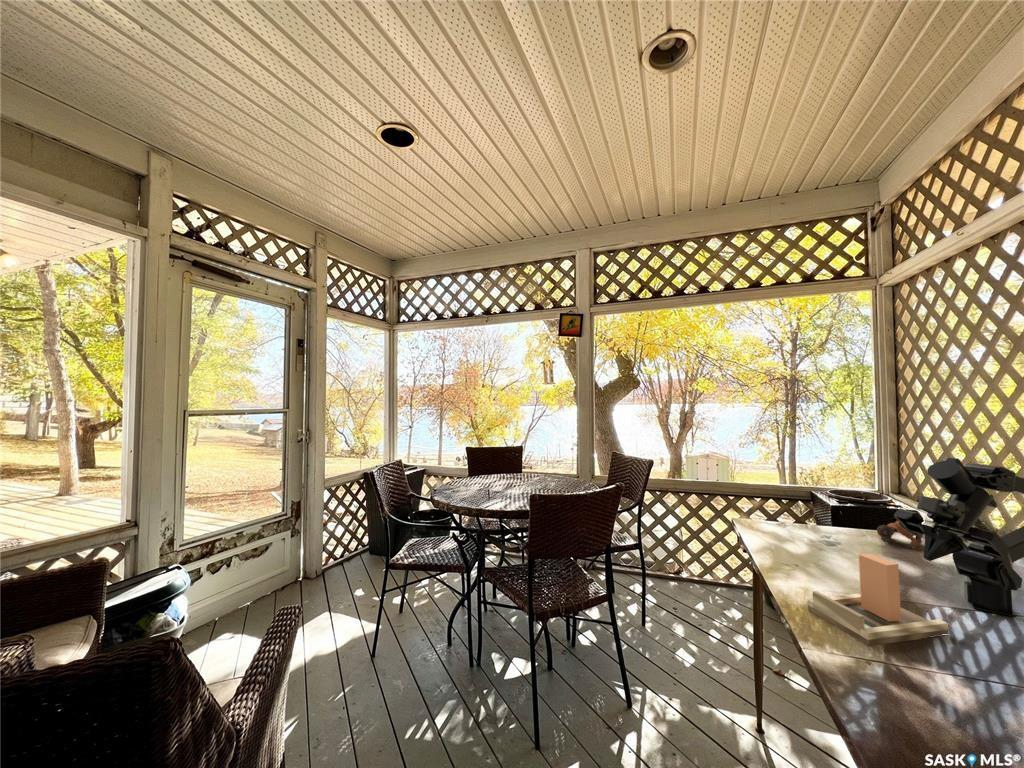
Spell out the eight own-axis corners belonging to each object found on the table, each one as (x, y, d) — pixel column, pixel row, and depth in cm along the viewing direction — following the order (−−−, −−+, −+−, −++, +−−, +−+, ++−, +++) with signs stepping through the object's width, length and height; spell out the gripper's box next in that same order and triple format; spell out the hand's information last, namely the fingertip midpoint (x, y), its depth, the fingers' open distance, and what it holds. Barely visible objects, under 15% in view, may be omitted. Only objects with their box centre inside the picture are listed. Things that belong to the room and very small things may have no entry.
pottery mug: (895, 538, 141) (910, 520, 138) (918, 560, 133) (934, 542, 129) (863, 530, 141) (877, 513, 137) (883, 552, 132) (899, 533, 129)
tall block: (872, 606, 93) (869, 553, 94) (901, 620, 87) (898, 564, 88) (861, 607, 93) (858, 554, 93) (889, 621, 87) (886, 565, 87)
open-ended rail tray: (878, 601, 98) (877, 581, 98) (948, 635, 84) (947, 610, 84) (807, 609, 95) (806, 588, 95) (868, 645, 81) (867, 620, 82)
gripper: (898, 476, 103) (862, 523, 101) (995, 493, 85) (954, 551, 83) (925, 506, 104) (891, 552, 102) (1027, 529, 85) (988, 586, 83)
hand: (926, 559), depth 92 cm, fingers closed
